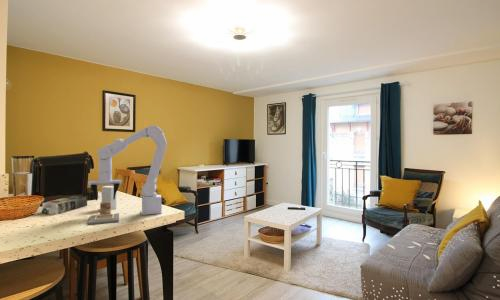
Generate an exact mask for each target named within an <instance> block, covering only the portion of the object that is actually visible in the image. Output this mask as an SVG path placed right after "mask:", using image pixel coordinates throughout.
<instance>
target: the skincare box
mask: <svg viewBox="0 0 500 300" xmlns="http://www.w3.org/2000/svg"><path fill="white" fill-rule="evenodd" d="M113 195H114V185H103V186H101V202H109V201H111V211H112V210H116V209H117V194H116V195H115V199H113Z"/></svg>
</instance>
